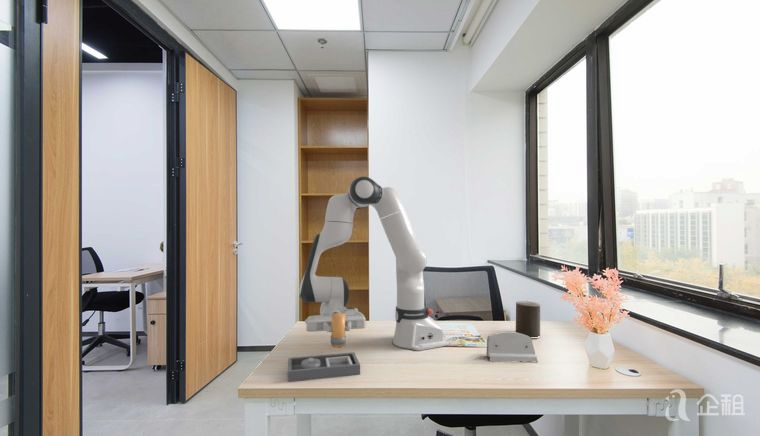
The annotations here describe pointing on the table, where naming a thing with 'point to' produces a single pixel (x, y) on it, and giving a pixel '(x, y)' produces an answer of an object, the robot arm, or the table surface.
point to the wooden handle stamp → (338, 330)
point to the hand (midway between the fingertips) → (338, 329)
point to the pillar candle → (528, 318)
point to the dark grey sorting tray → (323, 366)
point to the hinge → (510, 347)
